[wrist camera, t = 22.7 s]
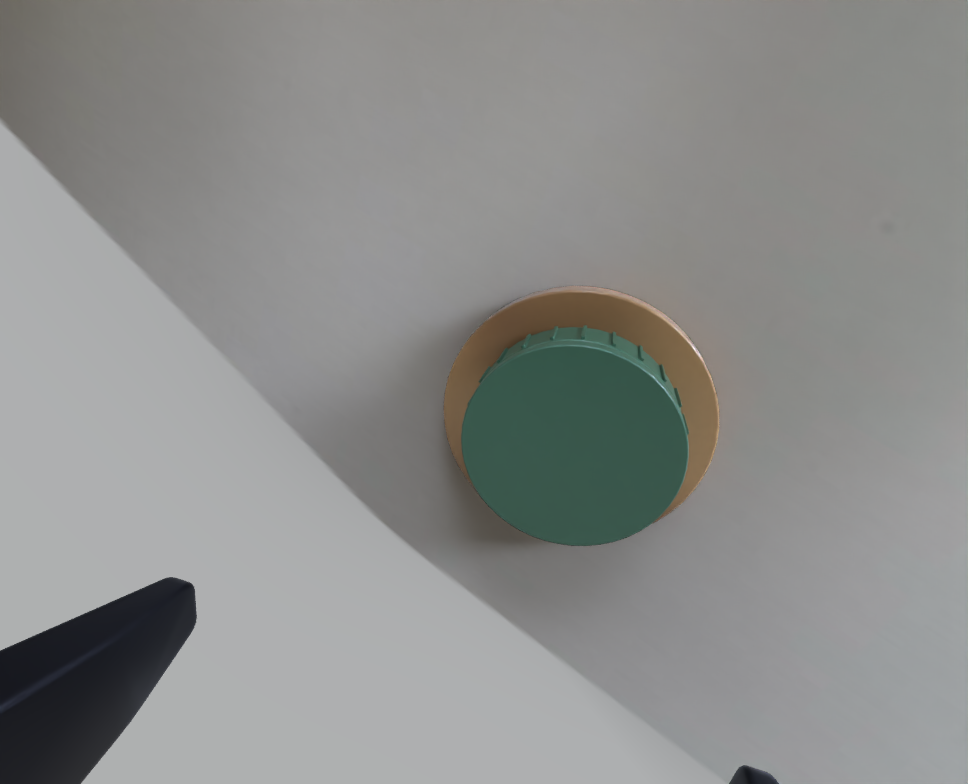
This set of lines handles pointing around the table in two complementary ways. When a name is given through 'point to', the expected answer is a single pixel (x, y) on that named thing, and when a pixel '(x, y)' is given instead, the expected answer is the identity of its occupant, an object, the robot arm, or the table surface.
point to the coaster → (602, 314)
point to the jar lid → (576, 437)
